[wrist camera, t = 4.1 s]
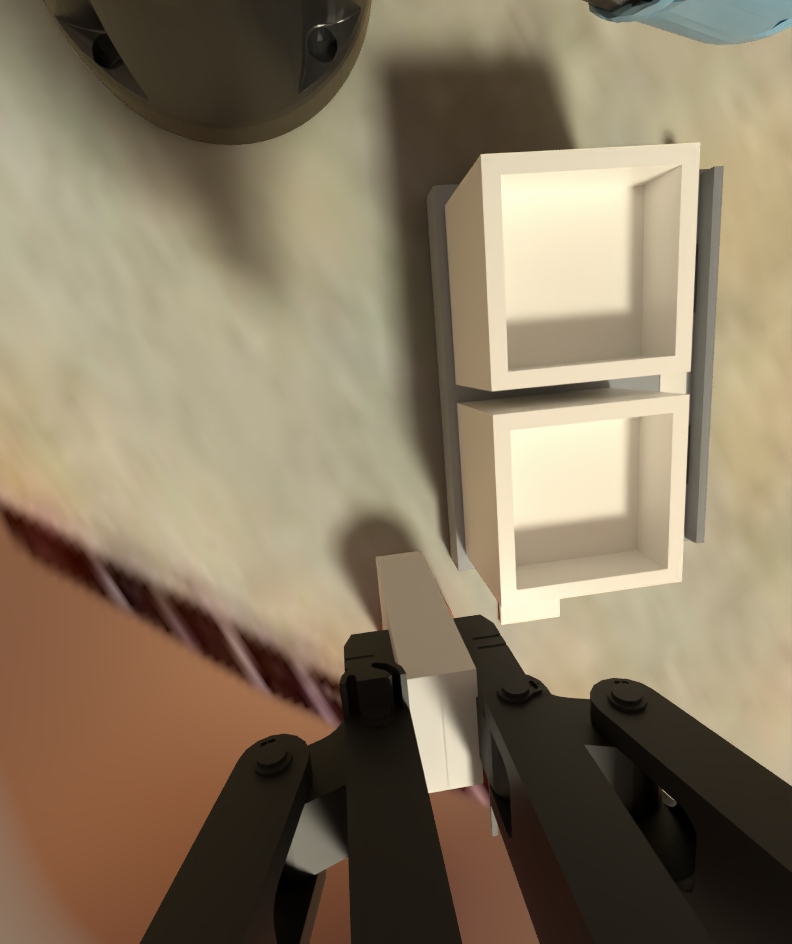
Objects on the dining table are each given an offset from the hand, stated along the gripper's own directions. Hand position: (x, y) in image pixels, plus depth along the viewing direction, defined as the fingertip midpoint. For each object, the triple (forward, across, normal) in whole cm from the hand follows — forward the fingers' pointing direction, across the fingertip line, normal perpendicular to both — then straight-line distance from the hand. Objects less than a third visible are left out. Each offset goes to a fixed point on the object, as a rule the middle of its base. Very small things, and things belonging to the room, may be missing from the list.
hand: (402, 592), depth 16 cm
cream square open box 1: (+12, +10, +10) cm, 19 cm away
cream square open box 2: (+12, +10, 0) cm, 16 cm away
